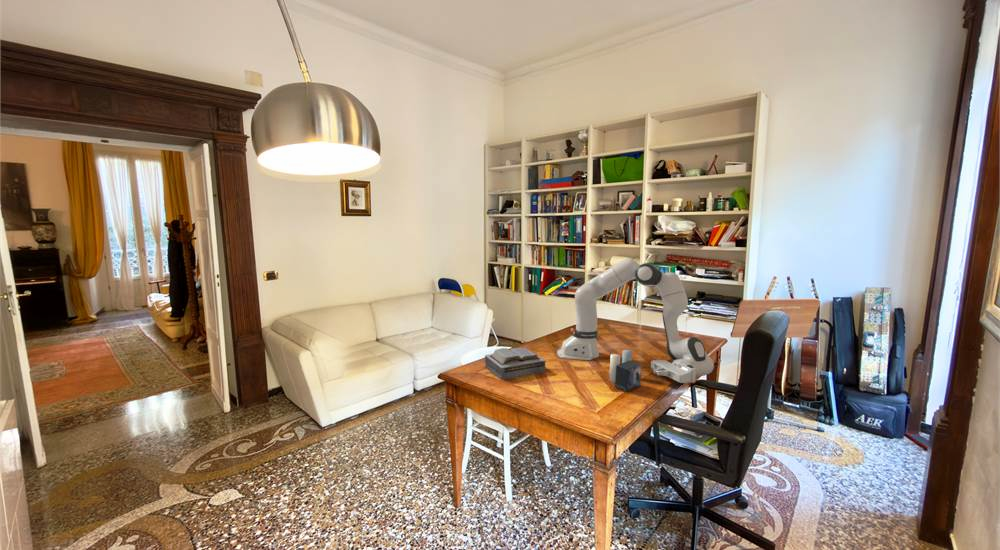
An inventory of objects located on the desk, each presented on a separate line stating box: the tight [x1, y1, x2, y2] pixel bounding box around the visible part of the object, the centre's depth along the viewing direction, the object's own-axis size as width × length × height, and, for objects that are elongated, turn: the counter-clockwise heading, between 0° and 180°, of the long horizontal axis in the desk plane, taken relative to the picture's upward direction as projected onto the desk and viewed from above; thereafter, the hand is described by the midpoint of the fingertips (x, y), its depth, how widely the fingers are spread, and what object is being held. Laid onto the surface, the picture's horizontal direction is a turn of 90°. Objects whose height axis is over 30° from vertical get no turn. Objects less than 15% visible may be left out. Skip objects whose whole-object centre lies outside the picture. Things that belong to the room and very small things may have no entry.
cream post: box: [609, 353, 621, 383], centre depth 182 cm, size 4×4×12 cm
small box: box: [614, 360, 643, 393], centre depth 174 cm, size 11×6×10 cm, turn 127°
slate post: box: [621, 349, 633, 363], centre depth 187 cm, size 4×4×12 cm
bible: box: [484, 347, 546, 381], centre depth 196 cm, size 23×27×10 cm
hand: (655, 372), depth 178 cm, fingers closed
